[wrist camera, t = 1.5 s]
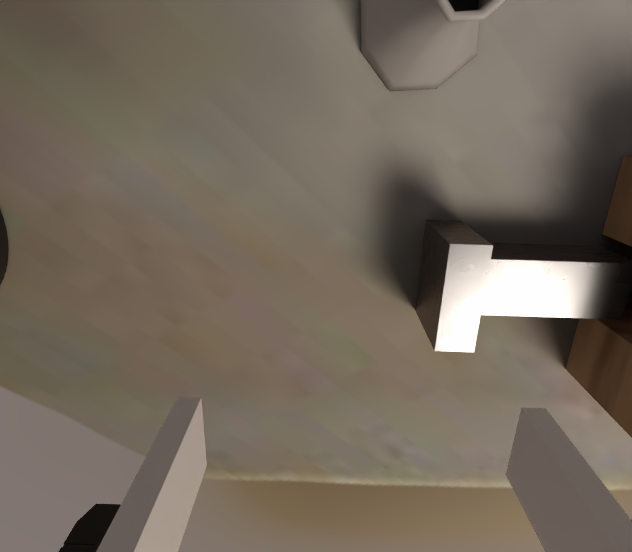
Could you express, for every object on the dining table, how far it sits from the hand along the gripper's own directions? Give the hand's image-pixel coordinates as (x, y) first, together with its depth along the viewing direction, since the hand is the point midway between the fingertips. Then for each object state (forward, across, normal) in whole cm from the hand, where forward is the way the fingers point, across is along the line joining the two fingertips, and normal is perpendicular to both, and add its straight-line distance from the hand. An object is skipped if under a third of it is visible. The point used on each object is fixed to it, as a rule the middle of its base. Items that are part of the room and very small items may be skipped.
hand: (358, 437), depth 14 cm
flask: (+18, +4, +15) cm, 24 cm away
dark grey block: (+18, +12, 0) cm, 21 cm away
